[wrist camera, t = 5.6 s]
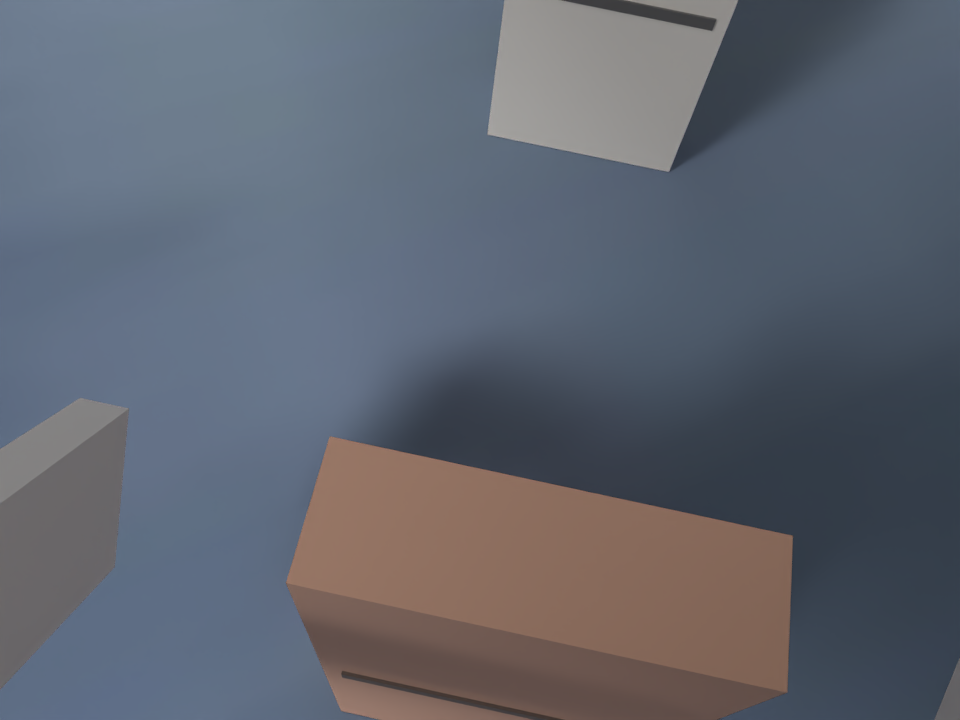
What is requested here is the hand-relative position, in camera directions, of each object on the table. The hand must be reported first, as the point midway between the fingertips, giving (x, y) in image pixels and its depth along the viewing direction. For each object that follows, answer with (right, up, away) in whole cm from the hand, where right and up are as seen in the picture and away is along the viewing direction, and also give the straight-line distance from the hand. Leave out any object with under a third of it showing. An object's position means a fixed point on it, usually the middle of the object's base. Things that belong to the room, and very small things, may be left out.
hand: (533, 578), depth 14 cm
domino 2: (-1, -3, +4) cm, 5 cm away
